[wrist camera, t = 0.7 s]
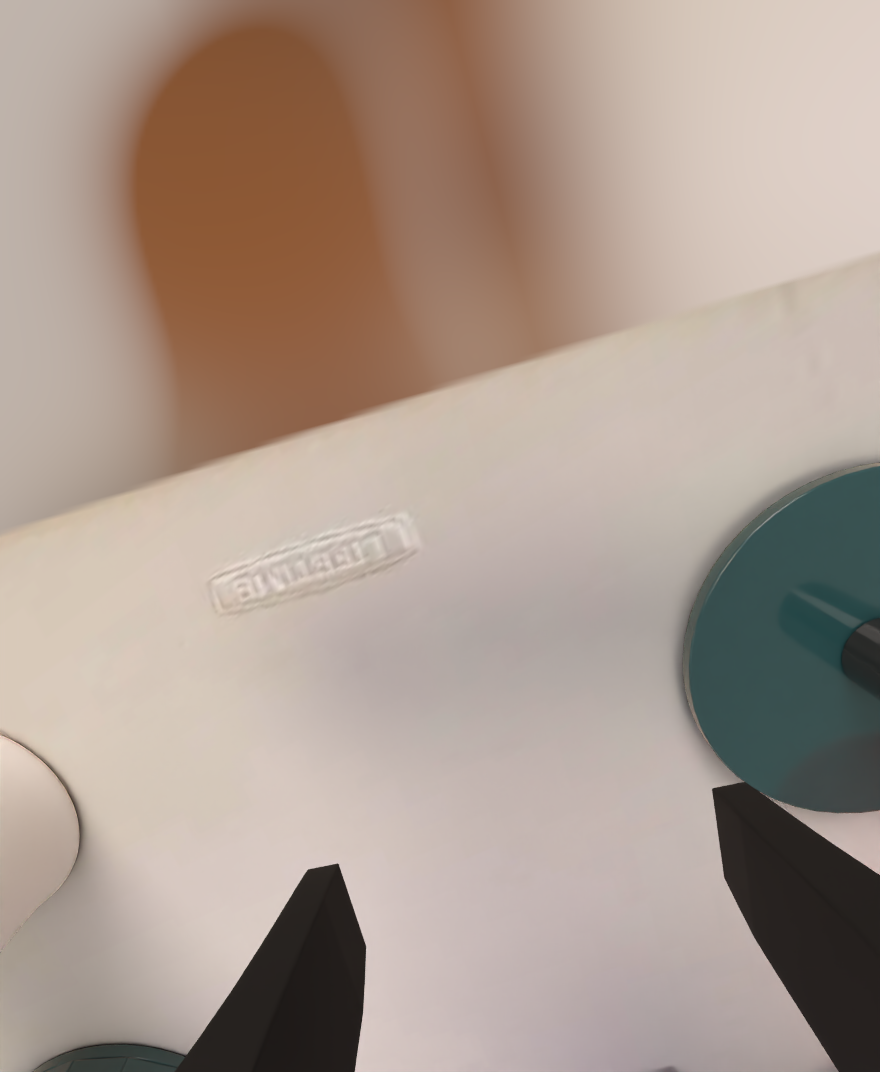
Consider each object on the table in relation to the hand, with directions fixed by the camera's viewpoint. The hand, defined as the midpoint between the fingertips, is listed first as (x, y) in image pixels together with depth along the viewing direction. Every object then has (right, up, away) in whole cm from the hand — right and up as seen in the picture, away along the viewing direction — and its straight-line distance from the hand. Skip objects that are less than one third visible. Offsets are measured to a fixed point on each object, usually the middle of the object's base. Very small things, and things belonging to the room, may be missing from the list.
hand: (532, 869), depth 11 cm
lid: (+13, +3, +9) cm, 16 cm away
